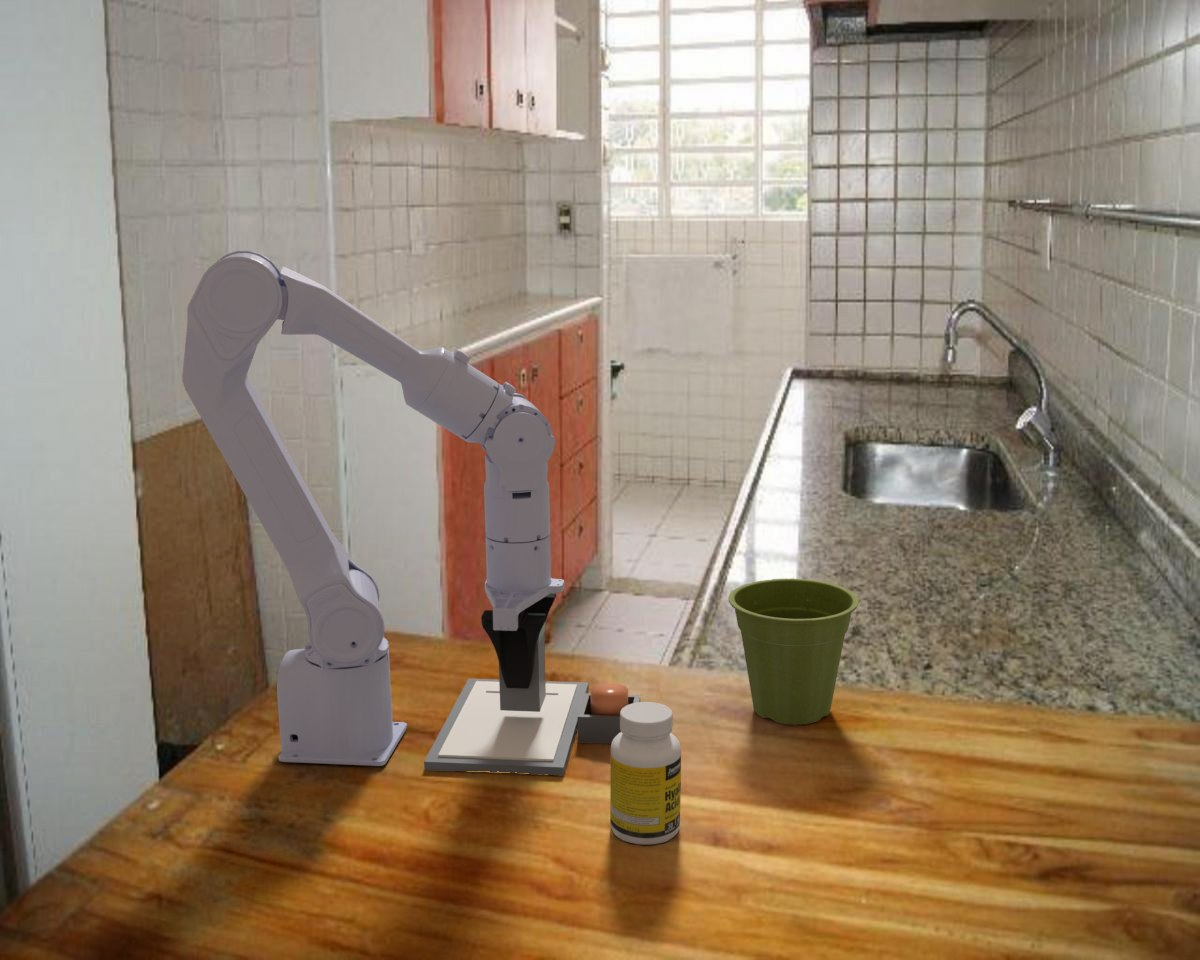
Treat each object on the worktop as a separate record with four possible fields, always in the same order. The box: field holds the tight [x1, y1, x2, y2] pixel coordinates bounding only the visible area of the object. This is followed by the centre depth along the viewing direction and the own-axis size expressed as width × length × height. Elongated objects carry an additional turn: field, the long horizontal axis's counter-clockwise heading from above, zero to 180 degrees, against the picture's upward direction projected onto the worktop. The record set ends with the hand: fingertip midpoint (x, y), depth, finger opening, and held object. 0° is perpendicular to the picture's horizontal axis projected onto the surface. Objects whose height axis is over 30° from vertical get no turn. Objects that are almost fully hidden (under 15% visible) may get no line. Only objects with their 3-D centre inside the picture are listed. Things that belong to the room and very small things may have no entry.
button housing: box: [577, 692, 641, 745], centre depth 112 cm, size 5×5×2 cm
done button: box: [590, 682, 629, 716], centre depth 111 cm, size 3×3×2 cm
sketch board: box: [423, 678, 589, 777], centre depth 113 cm, size 12×18×1 cm, turn 174°
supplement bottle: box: [609, 701, 682, 846], centre depth 94 cm, size 5×5×10 cm
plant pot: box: [728, 577, 860, 726], centre depth 115 cm, size 12×12×11 cm
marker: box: [498, 613, 547, 712], centre depth 111 cm, size 4×4×8 cm
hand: (521, 677), depth 112 cm, fingers closed on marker, 3 cm apart
